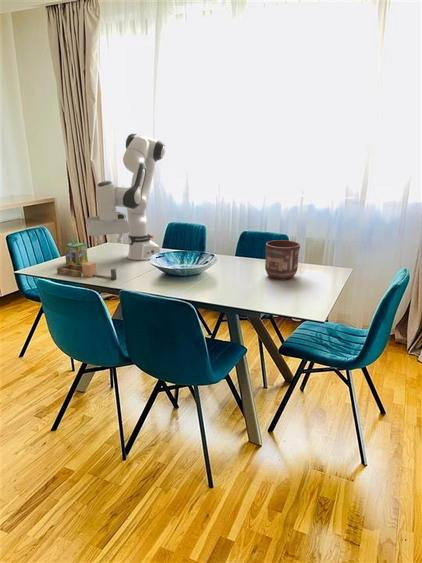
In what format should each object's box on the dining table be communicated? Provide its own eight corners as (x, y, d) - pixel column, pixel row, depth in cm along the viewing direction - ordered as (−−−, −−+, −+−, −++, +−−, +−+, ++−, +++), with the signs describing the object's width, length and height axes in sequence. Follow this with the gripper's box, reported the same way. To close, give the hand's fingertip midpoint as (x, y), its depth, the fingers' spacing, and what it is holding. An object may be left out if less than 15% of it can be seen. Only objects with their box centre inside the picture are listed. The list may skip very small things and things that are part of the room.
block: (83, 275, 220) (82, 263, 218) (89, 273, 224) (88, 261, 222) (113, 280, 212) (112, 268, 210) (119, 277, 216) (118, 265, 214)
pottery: (297, 283, 210) (300, 248, 205) (262, 280, 214) (264, 246, 208) (297, 273, 227) (300, 240, 221) (265, 271, 230) (267, 239, 225)
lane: (57, 273, 224) (56, 268, 223) (69, 268, 232) (69, 263, 231) (79, 277, 218) (79, 271, 217) (91, 272, 226) (91, 267, 225)
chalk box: (79, 266, 237) (76, 241, 232) (65, 265, 240) (62, 239, 235) (88, 262, 245) (86, 237, 241) (75, 260, 248) (72, 236, 243)
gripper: (86, 218, 198) (89, 246, 202) (129, 215, 206) (130, 242, 210) (84, 216, 203) (87, 243, 208) (126, 213, 211) (127, 239, 216)
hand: (109, 243), depth 209 cm, fingers open, 8 cm apart
